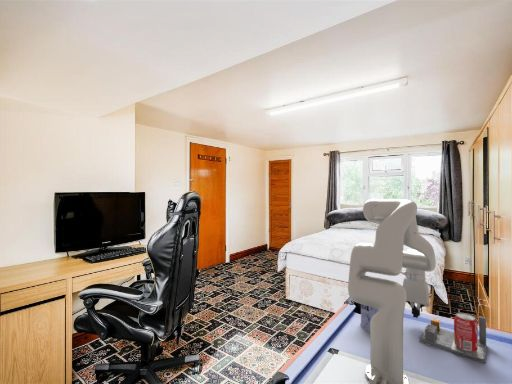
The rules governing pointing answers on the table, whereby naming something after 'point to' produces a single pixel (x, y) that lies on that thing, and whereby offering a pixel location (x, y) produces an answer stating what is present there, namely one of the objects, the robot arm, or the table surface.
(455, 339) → the soda can
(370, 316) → the aerosol can
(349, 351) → the table surface
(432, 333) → the ram
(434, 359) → the table surface
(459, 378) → the table surface
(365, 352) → the table surface
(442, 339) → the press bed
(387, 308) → the robot arm
